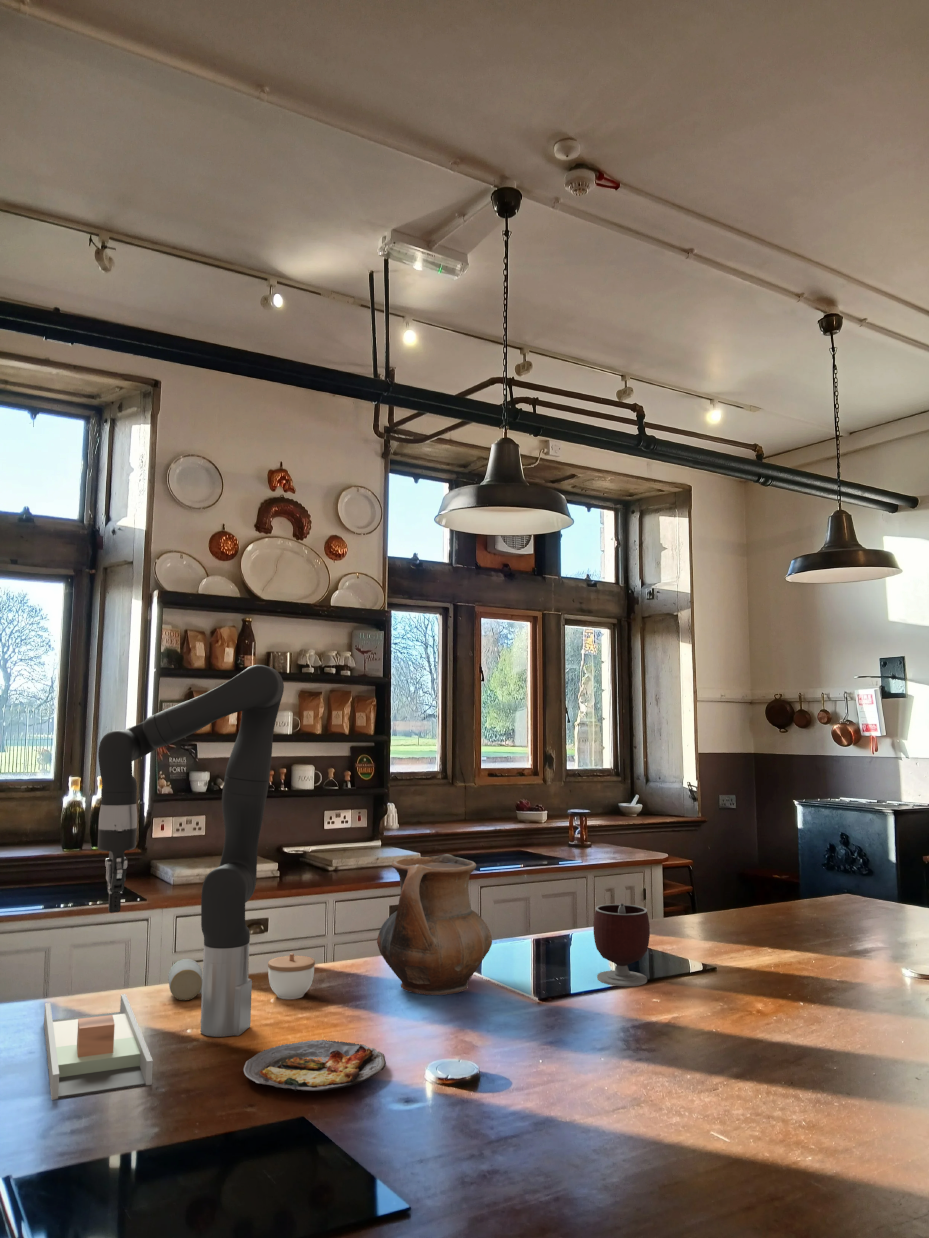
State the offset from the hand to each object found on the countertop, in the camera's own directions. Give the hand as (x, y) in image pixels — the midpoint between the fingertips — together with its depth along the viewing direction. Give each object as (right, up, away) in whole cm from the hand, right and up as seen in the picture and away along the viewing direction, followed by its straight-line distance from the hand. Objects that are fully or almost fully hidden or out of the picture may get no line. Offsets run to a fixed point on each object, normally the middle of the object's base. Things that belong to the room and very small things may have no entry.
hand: (114, 911), depth 191 cm
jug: (+65, -29, +33) cm, 78 cm away
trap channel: (+1, -22, -14) cm, 26 cm away
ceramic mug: (+9, -27, +22) cm, 36 cm away
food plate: (+45, -22, -24) cm, 56 cm away
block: (+4, -19, -20) cm, 28 cm away
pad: (+5, -22, -21) cm, 30 cm away
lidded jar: (+32, -27, +23) cm, 48 cm away
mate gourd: (+111, -30, +39) cm, 122 cm away
